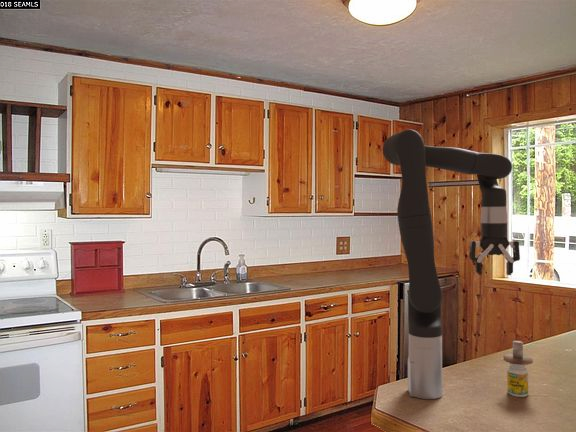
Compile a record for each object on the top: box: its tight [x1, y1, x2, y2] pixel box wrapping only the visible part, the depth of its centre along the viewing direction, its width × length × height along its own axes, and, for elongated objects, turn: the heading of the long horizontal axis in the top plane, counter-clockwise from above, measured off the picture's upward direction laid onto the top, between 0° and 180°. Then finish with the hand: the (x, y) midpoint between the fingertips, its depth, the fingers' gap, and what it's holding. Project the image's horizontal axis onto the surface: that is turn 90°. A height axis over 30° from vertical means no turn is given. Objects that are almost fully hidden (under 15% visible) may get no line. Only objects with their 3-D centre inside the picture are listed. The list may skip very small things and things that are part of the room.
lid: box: [502, 340, 534, 366], centre depth 144 cm, size 8×8×5 cm
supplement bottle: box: [506, 363, 529, 398], centre depth 144 cm, size 5×5×10 cm
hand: (494, 274), depth 155 cm, fingers open, 8 cm apart
